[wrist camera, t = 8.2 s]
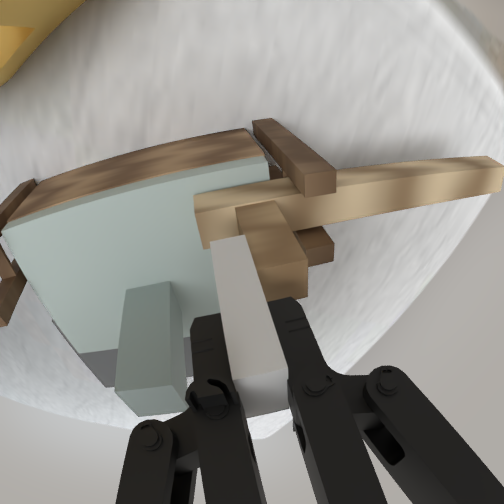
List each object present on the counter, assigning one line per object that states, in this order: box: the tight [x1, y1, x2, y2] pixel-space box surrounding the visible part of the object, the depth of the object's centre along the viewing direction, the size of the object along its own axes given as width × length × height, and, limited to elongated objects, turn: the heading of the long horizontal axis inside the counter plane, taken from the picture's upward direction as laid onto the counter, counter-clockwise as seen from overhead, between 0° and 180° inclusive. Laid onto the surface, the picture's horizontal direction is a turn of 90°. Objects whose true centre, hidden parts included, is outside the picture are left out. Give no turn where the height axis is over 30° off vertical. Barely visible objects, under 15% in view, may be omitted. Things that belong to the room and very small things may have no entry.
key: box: [193, 156, 504, 302], centre depth 16 cm, size 23×2×7 cm, turn 97°
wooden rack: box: [0, 118, 337, 327], centre depth 22 cm, size 23×14×12 cm, turn 97°
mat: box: [52, 320, 193, 387], centre depth 36 cm, size 20×15×1 cm
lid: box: [1, 156, 270, 417], centre depth 17 cm, size 18×13×9 cm
